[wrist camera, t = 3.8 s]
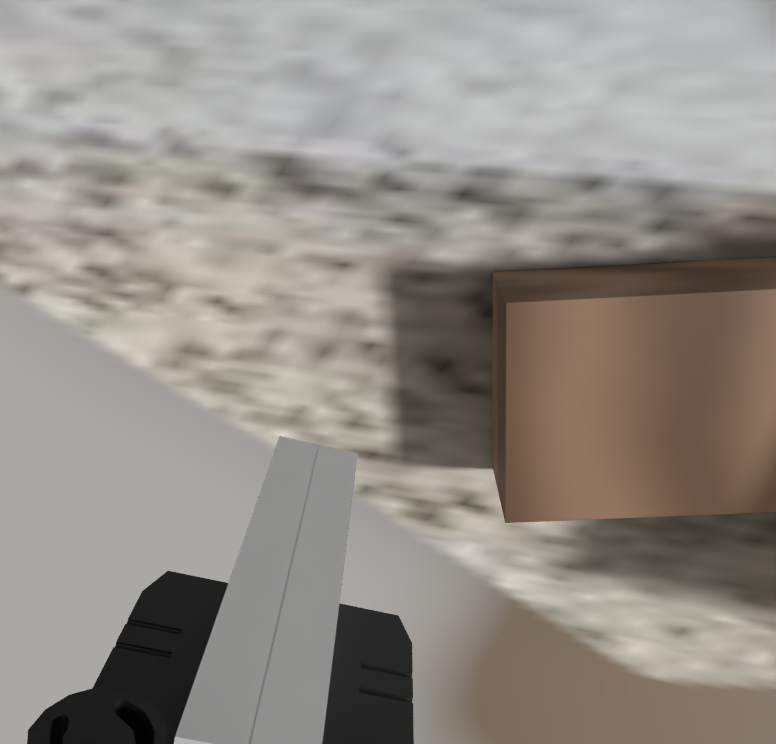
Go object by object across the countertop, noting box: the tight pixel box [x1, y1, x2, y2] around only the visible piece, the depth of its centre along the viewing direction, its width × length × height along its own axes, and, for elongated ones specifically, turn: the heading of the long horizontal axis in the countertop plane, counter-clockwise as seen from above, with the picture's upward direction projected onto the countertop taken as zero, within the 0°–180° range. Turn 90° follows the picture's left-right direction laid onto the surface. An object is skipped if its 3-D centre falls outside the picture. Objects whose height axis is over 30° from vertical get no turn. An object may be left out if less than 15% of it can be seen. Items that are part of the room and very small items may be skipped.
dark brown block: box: [492, 257, 776, 523], centre depth 25 cm, size 12×8×4 cm, turn 93°
